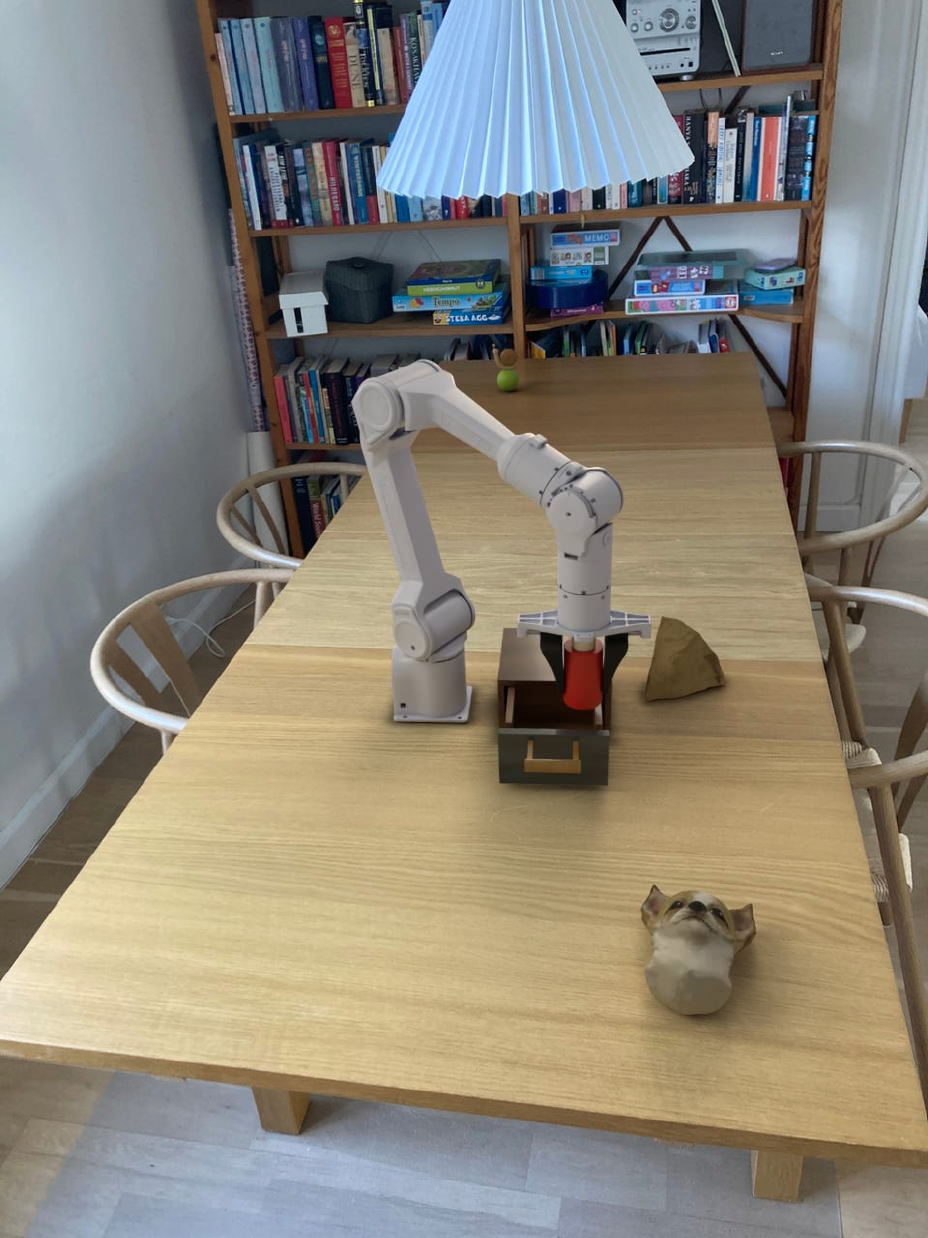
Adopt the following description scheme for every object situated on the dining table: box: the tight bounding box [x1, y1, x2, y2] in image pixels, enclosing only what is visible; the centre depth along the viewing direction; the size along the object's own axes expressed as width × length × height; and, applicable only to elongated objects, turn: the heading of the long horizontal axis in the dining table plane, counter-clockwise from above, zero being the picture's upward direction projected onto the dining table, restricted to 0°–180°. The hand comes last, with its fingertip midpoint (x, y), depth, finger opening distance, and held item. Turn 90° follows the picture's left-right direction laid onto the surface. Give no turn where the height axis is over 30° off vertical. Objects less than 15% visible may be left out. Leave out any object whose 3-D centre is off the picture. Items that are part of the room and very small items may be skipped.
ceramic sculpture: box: [640, 883, 757, 1016], centre depth 91 cm, size 11×9×15 cm
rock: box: [644, 615, 726, 702], centre depth 132 cm, size 11×9×10 cm
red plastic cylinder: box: [564, 637, 604, 710], centre depth 114 cm, size 4×4×8 cm
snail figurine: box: [491, 343, 520, 392], centre depth 251 cm, size 5×6×12 cm
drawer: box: [497, 686, 611, 787], centre depth 117 cm, size 16×12×7 cm
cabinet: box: [496, 627, 613, 743], centre depth 128 cm, size 13×14×9 cm
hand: (582, 689), depth 115 cm, fingers closed on red plastic cylinder, 4 cm apart
